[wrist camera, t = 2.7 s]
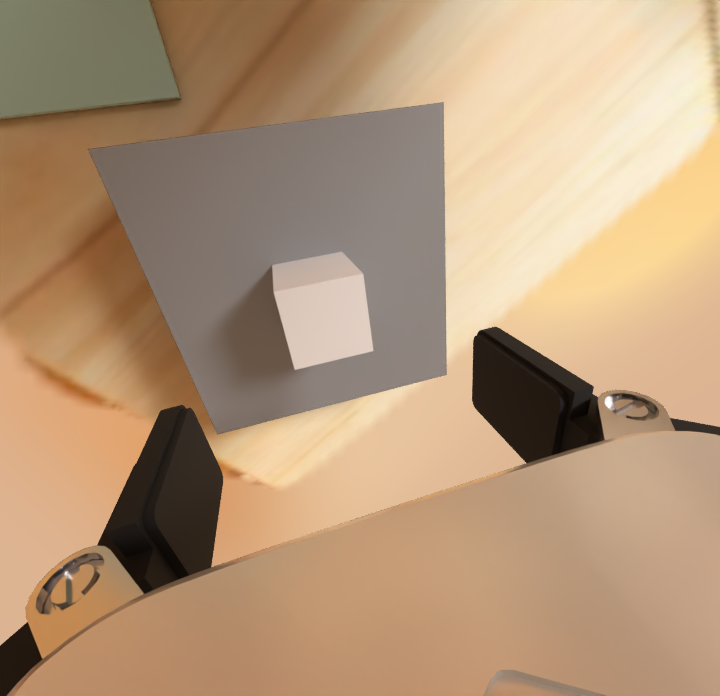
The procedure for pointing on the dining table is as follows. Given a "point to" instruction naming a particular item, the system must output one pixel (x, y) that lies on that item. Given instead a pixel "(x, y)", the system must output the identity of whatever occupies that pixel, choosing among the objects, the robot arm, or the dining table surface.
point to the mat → (80, 56)
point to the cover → (293, 256)
